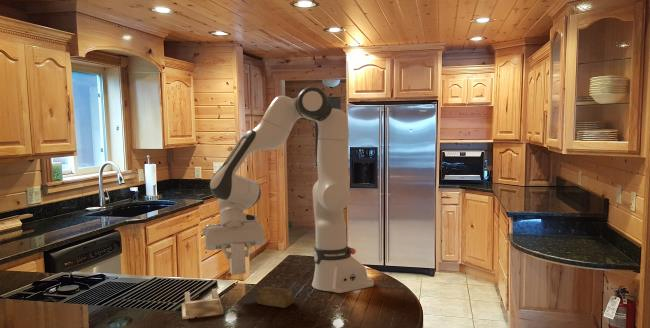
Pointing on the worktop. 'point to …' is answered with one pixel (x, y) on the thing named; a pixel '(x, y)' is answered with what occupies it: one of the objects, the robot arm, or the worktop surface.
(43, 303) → the worktop surface
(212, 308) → the cradle
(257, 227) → the robot arm
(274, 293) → the stone block
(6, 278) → the worktop surface
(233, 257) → the block
